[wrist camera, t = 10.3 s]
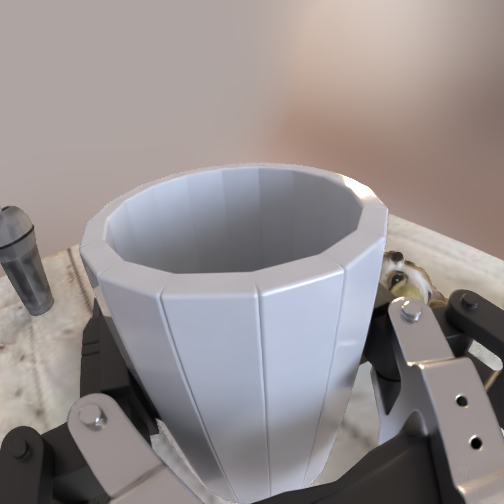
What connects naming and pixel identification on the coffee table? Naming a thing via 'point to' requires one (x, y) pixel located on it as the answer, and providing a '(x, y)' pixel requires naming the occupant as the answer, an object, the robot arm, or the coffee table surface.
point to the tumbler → (242, 313)
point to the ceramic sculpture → (408, 280)
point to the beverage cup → (23, 260)
